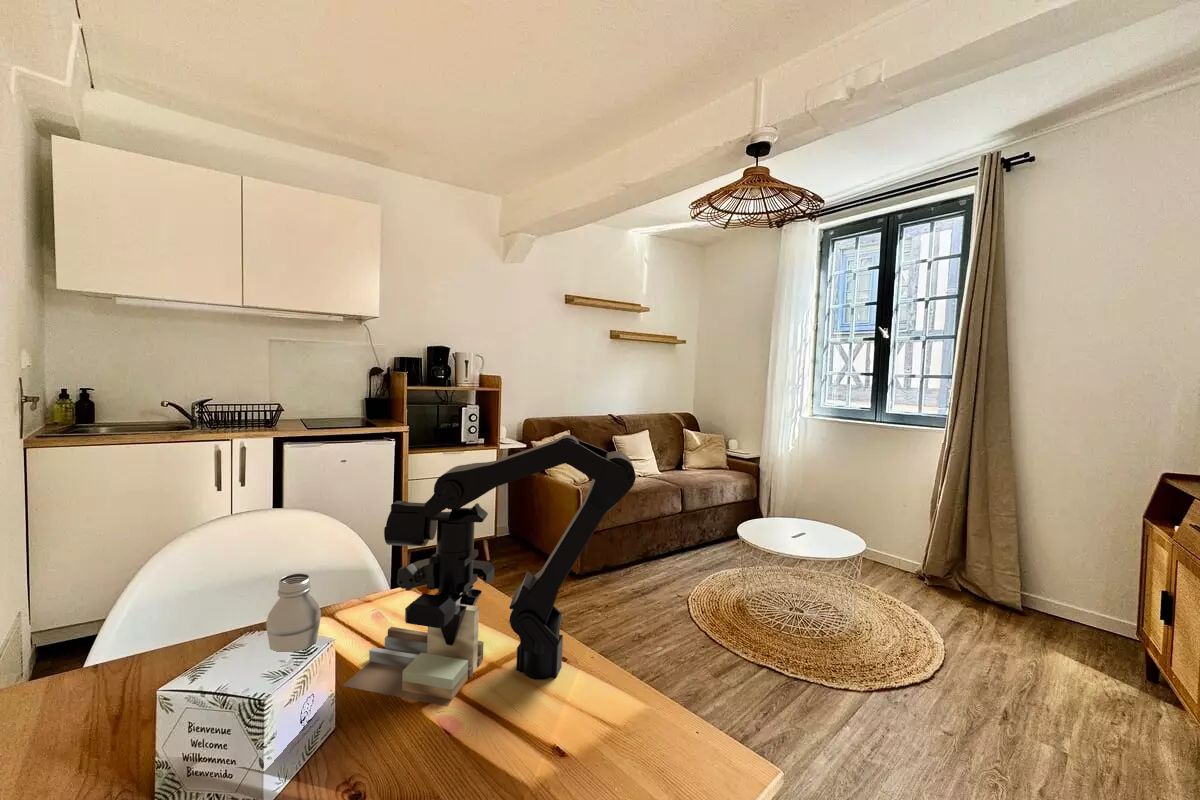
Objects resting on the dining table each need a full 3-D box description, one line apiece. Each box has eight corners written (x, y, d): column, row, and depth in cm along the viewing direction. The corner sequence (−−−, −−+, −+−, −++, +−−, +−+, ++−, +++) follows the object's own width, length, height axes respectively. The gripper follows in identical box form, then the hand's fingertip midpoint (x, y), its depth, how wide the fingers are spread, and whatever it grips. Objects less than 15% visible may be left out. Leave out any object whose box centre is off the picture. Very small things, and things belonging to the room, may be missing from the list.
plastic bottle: (261, 745, 64) (262, 593, 63) (268, 712, 70) (268, 572, 69) (319, 731, 67) (321, 585, 66) (321, 700, 73) (322, 566, 72)
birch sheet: (477, 666, 81) (479, 606, 81) (472, 672, 80) (474, 611, 79) (431, 658, 83) (433, 599, 82) (426, 664, 81) (428, 604, 81)
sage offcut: (467, 669, 78) (468, 660, 78) (452, 689, 73) (452, 679, 73) (420, 661, 80) (421, 652, 79) (402, 680, 75) (402, 670, 75)
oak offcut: (467, 679, 78) (467, 669, 78) (451, 699, 73) (452, 689, 73) (420, 670, 80) (420, 661, 80) (402, 690, 75) (402, 680, 75)
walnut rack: (483, 665, 84) (484, 641, 83) (448, 712, 72) (448, 685, 72) (389, 648, 87) (390, 626, 87) (340, 692, 75) (341, 666, 75)
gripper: (438, 524, 91) (436, 608, 92) (372, 562, 73) (370, 666, 74) (496, 530, 89) (494, 616, 90) (443, 571, 70) (440, 679, 71)
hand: (452, 641), depth 81 cm, fingers closed on birch sheet, 2 cm apart
